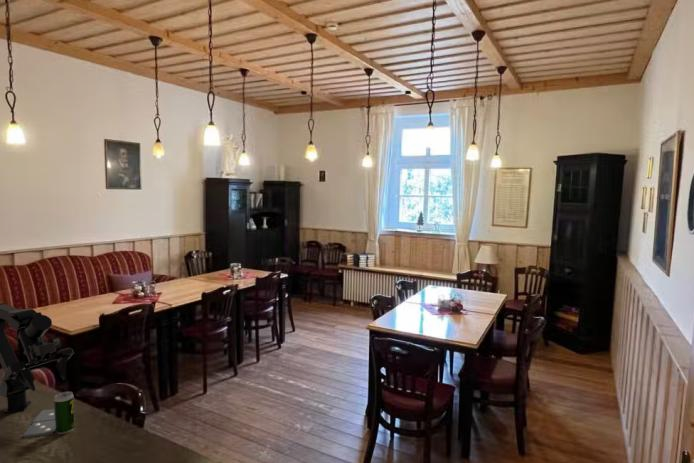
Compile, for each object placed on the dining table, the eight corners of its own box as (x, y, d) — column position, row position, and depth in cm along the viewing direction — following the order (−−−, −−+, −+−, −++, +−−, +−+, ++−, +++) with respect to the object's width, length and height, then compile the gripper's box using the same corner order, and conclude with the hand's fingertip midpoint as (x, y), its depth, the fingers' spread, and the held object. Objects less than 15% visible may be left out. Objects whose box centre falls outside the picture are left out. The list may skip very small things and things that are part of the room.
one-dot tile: (42, 412, 151) (42, 410, 151) (68, 409, 153) (68, 407, 153) (32, 424, 143) (32, 421, 143) (59, 420, 145) (59, 418, 145)
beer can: (55, 436, 136) (53, 400, 135) (55, 428, 140) (53, 393, 139) (75, 431, 139) (73, 396, 138) (75, 424, 143) (73, 389, 142)
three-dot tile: (33, 424, 143) (33, 422, 143) (60, 421, 145) (60, 419, 145) (22, 437, 135) (22, 435, 135) (51, 434, 137) (51, 431, 137)
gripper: (9, 341, 133) (26, 386, 129) (72, 325, 149) (88, 365, 146) (-3, 356, 138) (13, 400, 134) (59, 339, 154) (75, 378, 150)
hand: (49, 385), depth 141 cm, fingers open, 9 cm apart
